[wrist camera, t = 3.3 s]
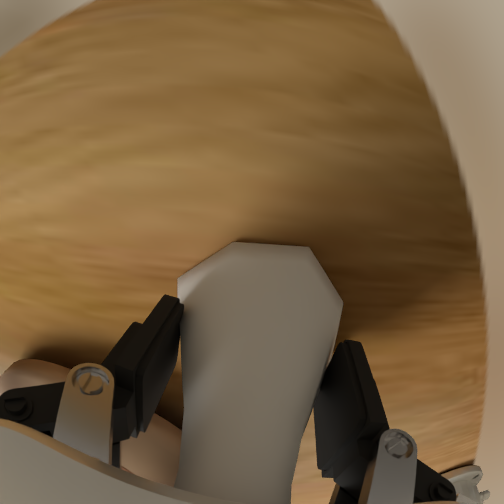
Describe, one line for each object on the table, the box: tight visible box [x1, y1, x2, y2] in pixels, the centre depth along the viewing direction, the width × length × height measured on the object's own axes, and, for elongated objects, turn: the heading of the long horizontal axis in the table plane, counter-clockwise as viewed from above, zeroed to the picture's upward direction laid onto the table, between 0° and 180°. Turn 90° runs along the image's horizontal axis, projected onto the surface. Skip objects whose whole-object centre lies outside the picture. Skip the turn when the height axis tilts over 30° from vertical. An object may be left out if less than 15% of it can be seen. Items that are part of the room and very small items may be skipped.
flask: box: [174, 242, 343, 504], centre depth 8 cm, size 7×7×10 cm
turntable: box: [0, 359, 182, 487], centre depth 16 cm, size 20×20×2 cm
